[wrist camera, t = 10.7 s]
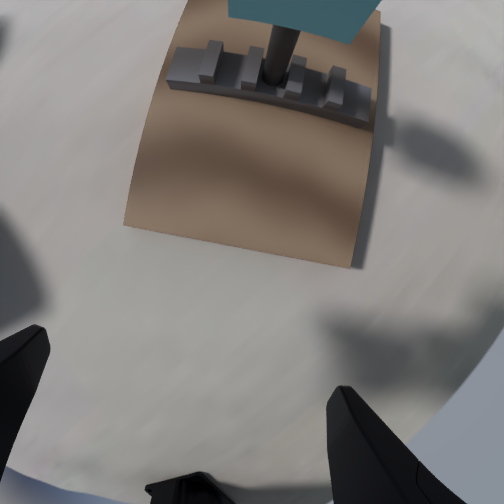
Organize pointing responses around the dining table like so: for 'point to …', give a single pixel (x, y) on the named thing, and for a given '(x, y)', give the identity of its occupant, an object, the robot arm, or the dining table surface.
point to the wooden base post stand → (258, 137)
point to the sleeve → (308, 15)
